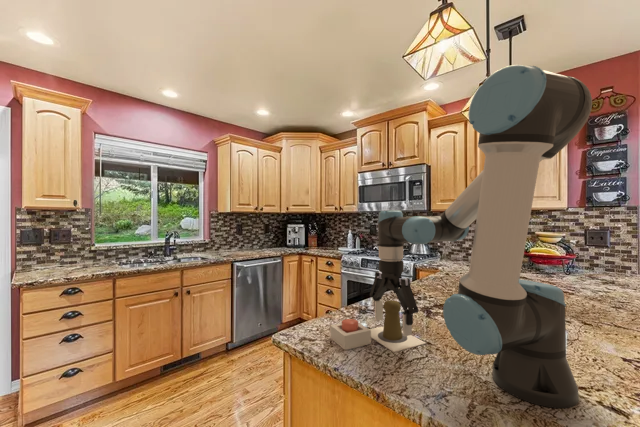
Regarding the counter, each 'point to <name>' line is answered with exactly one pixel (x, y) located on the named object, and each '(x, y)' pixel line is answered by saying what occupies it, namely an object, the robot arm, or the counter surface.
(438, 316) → the counter surface
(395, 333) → the brown pepper grinder
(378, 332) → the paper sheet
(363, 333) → the button housing
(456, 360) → the counter surface
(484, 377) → the counter surface
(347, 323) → the button
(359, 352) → the counter surface
